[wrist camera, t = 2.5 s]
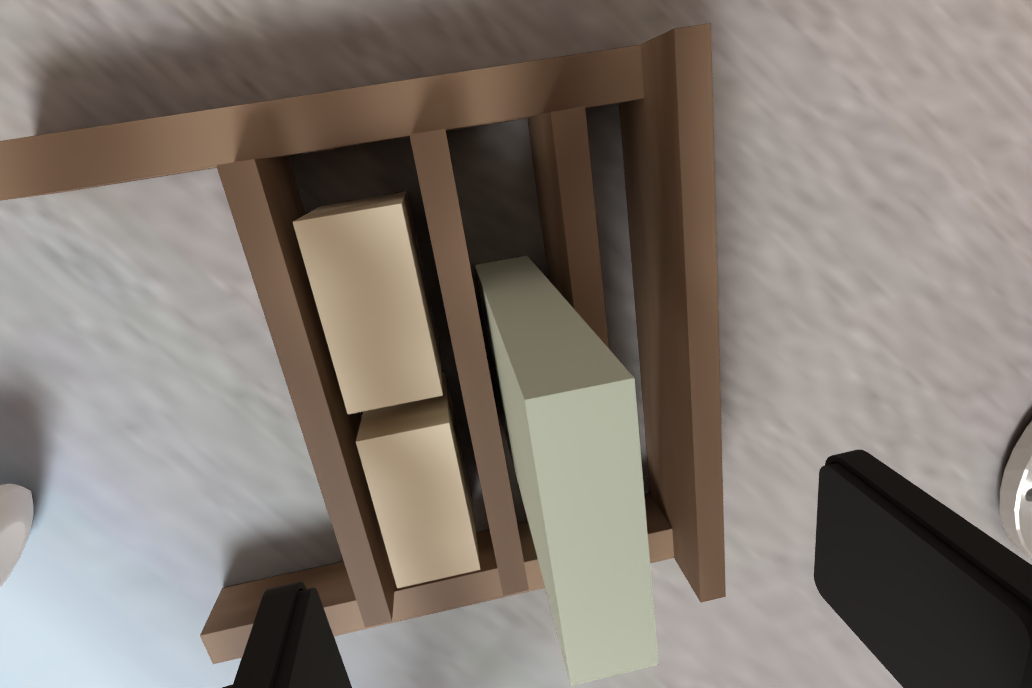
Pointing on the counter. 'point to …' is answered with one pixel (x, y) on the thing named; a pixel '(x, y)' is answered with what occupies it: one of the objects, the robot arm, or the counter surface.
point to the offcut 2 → (420, 488)
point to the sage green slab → (574, 469)
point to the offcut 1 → (372, 300)
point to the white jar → (13, 525)
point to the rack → (465, 289)
